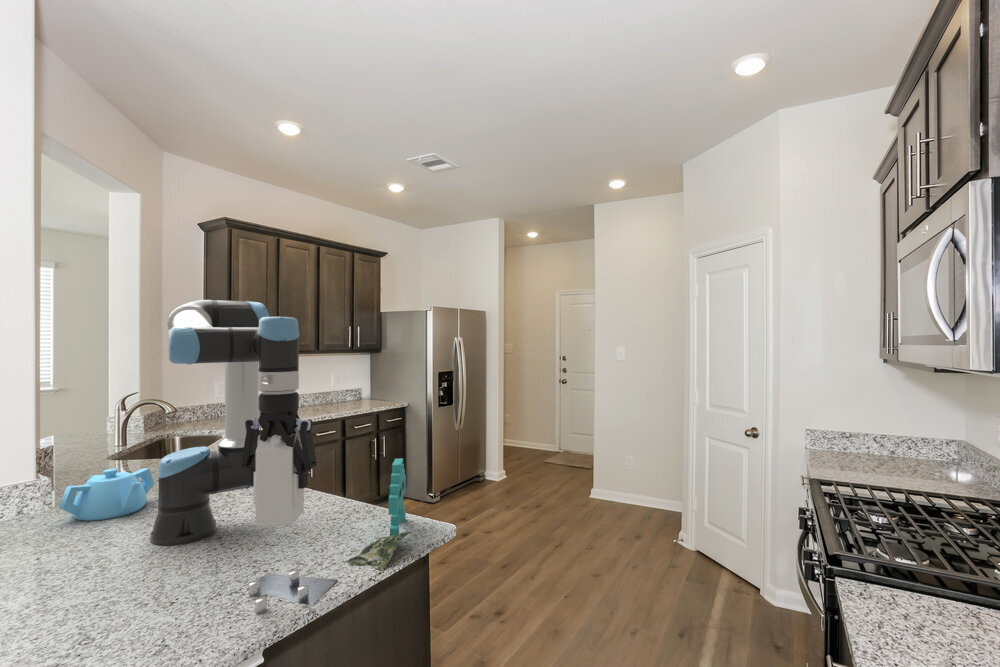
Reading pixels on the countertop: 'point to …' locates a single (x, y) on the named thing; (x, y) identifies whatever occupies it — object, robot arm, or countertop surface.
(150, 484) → the teapot
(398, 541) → the topographical model
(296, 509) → the milk carton
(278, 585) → the plate
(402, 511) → the alien figure
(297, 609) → the countertop surface
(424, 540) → the countertop surface
